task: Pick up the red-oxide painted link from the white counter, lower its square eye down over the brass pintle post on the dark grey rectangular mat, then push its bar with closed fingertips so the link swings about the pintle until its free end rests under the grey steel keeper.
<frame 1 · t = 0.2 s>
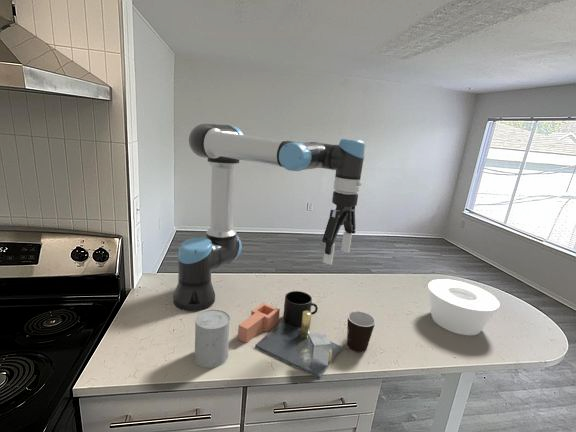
hand: (336, 257, 104), 27 cm above the worktop, fingers open, 13 cm apart
bowl: (455, 322, 125), on the worktop
coffee mug: (358, 344, 107), on the worktop
mug: (299, 320, 117), on the worktop
keeper: (316, 363, 96), resting on dark grey rectangular mat
link: (242, 340, 103), on the worktop
post: (304, 337, 107), resting on dark grey rectangular mat
dark grey rectangular mat: (298, 347, 102), on the worktop
white marble cylinder: (211, 356, 95), on the worktop
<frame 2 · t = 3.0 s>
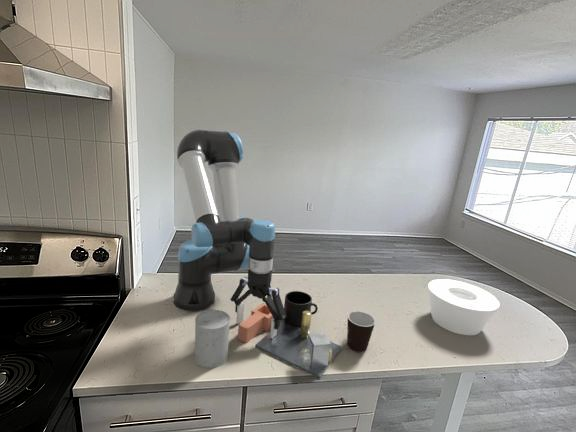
hand: (256, 329, 108), 1 cm above the worktop, fingers open, 13 cm apart
nothing on the worktop moved.
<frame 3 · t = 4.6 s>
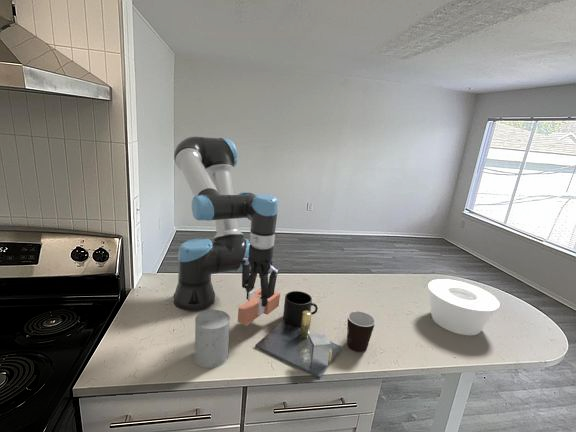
hand: (255, 310, 107), 7 cm above the worktop, fingers closed on link, 3 cm apart
link: (242, 323, 102), point 6 cm above the worktop, touching gripper
everything else where it was.
when the fingers open (1 cm above the worktop, at t = 8.4 s): link stays where it is, resting on dark grey rectangular mat.
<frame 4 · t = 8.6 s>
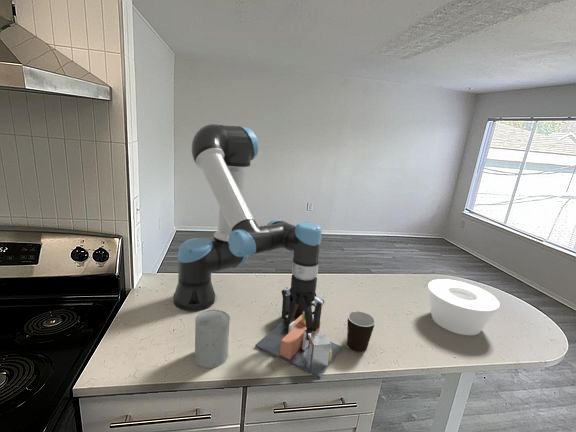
hand: (297, 344, 102), 1 cm above the worktop, fingers open, 4 cm apart
link: (284, 357, 96), point 1 cm above the worktop, touching dark grey rectangular mat
everything else where it was.
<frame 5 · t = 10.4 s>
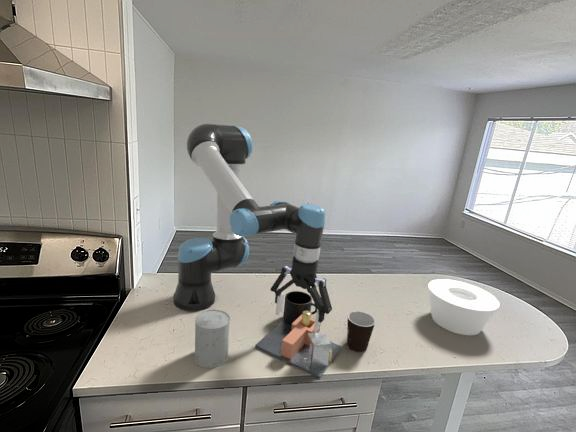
hand: (297, 321, 101), 8 cm above the worktop, fingers open, 13 cm apart
nothing on the worktop moved.
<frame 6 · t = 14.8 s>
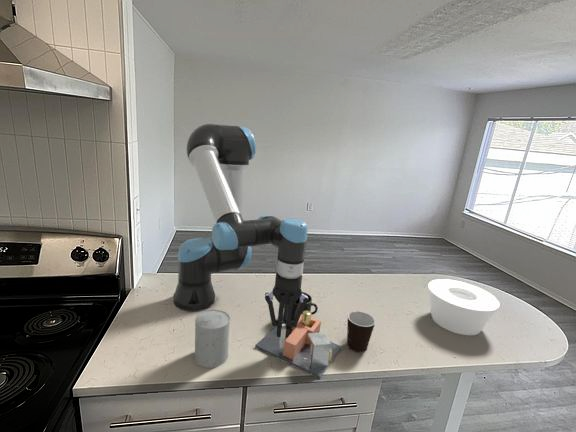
hand: (281, 345, 98), 2 cm above the worktop, fingers closed
link: (288, 357, 96), point 1 cm above the worktop, touching dark grey rectangular mat, gripper
everything else where it was.
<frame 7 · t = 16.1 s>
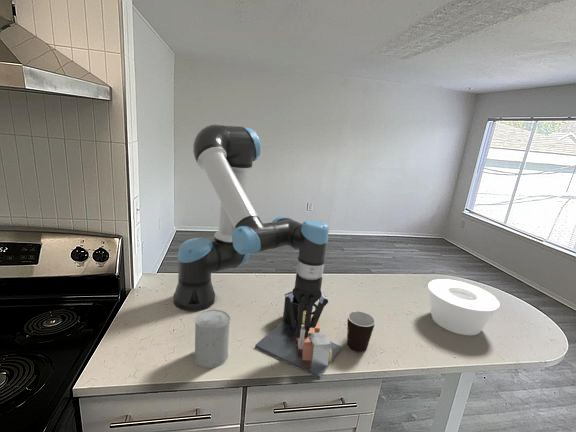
hand: (300, 346, 99), 2 cm above the worktop, fingers closed
link: (308, 360, 96), point 1 cm above the worktop, touching dark grey rectangular mat, gripper, post
everything else where it was.
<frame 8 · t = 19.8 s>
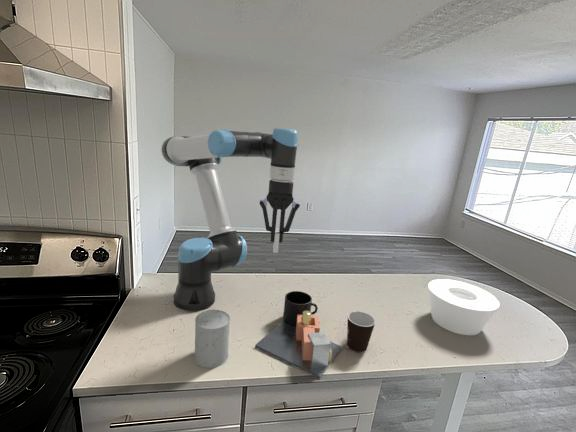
hand: (275, 251, 107), 26 cm above the worktop, fingers closed
link: (308, 360, 96), point 1 cm above the worktop, touching dark grey rectangular mat
everything else where it was.
at the end: link 2.8 cm from the target spot on the worktop beside the post, point 0.8 cm above the worktop; link tilted 0° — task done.
